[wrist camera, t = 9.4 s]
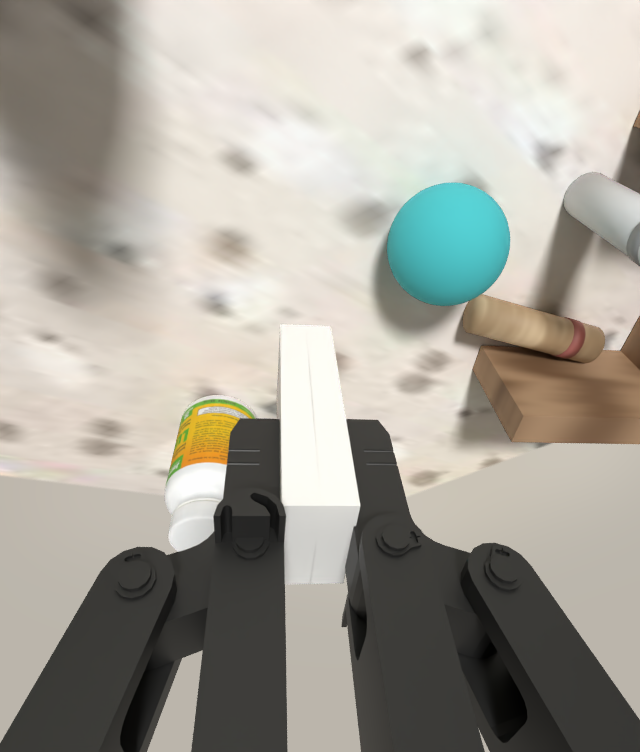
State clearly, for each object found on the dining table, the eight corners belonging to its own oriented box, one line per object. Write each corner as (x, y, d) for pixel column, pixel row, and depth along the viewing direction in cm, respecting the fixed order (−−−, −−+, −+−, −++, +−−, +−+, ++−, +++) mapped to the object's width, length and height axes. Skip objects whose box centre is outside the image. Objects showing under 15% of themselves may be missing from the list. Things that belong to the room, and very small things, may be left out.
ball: (509, 323, 25) (451, 269, 30) (556, 210, 22) (483, 167, 26) (406, 333, 24) (361, 274, 28) (439, 210, 20) (381, 164, 24)
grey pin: (555, 216, 27) (646, 284, 21) (573, 169, 26) (677, 226, 19) (597, 219, 28) (700, 288, 21) (617, 173, 26) (735, 230, 19)
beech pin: (490, 292, 28) (610, 326, 30) (468, 293, 30) (581, 324, 32) (478, 335, 28) (598, 366, 30) (458, 332, 31) (570, 361, 33)
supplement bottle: (182, 388, 33) (152, 506, 25) (262, 395, 34) (257, 511, 26) (181, 445, 36) (155, 565, 28) (254, 450, 37) (248, 568, 29)
